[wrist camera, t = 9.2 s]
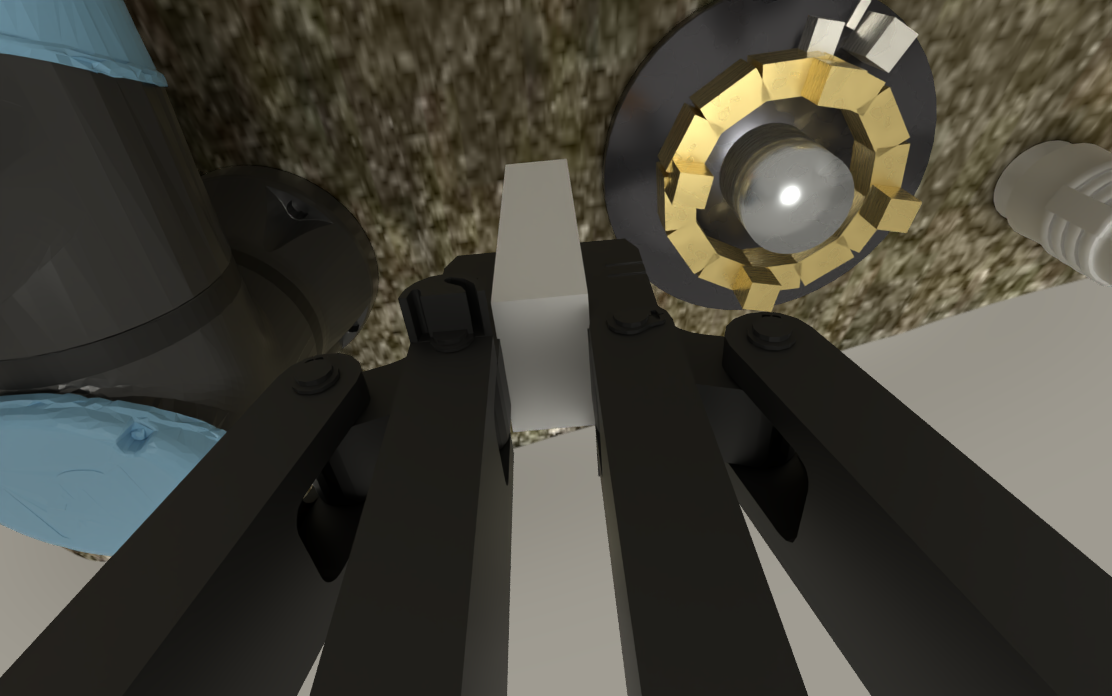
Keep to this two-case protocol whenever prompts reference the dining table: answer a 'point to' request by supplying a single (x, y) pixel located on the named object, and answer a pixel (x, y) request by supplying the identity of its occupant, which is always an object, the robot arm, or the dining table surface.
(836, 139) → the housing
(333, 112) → the dining table surface
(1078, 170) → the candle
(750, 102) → the ring nut
